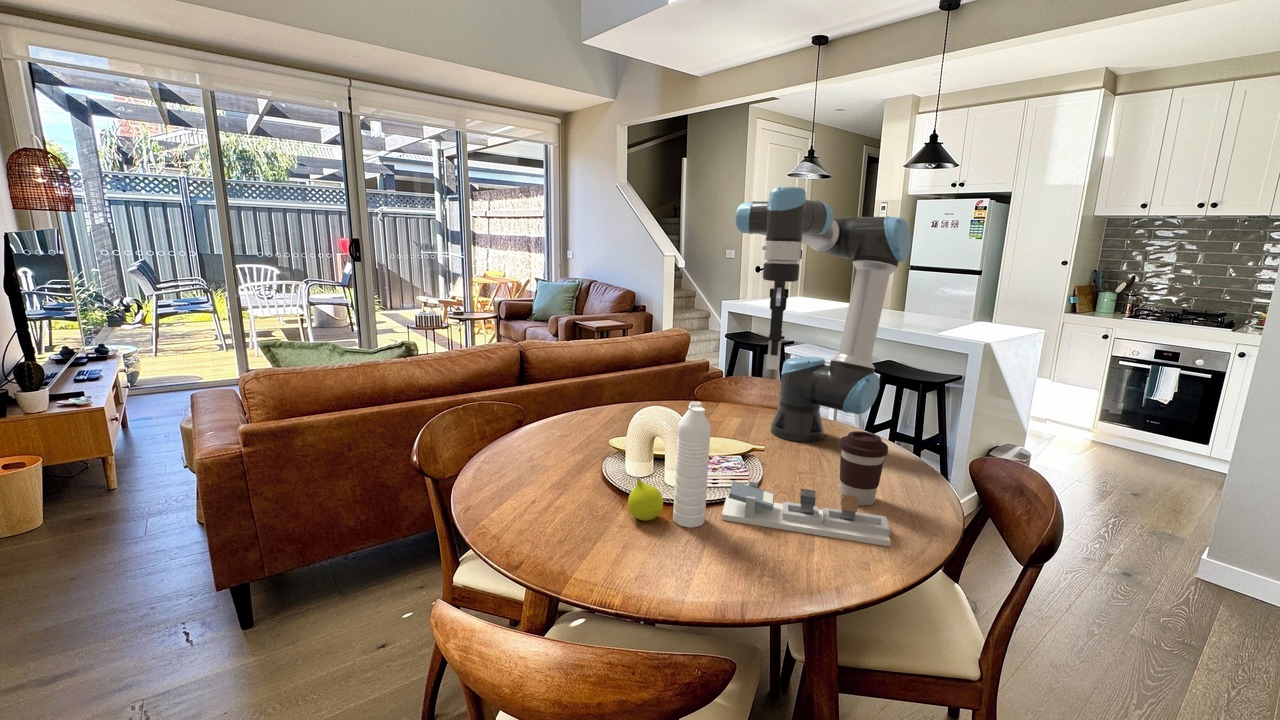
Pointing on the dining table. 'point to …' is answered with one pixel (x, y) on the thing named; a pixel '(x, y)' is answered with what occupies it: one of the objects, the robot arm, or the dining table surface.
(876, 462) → the coffee cup
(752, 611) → the dining table surface
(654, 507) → the ornament
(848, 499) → the slider
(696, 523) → the water bottle
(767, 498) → the rocker
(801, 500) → the slider
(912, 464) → the dining table surface
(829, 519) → the panel
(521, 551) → the dining table surface
